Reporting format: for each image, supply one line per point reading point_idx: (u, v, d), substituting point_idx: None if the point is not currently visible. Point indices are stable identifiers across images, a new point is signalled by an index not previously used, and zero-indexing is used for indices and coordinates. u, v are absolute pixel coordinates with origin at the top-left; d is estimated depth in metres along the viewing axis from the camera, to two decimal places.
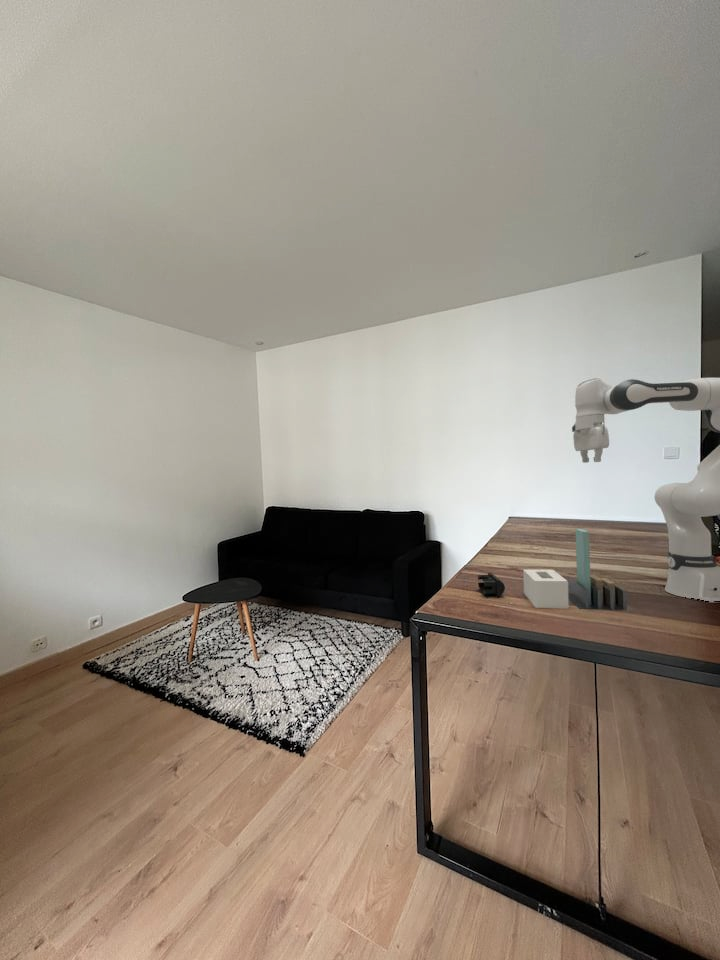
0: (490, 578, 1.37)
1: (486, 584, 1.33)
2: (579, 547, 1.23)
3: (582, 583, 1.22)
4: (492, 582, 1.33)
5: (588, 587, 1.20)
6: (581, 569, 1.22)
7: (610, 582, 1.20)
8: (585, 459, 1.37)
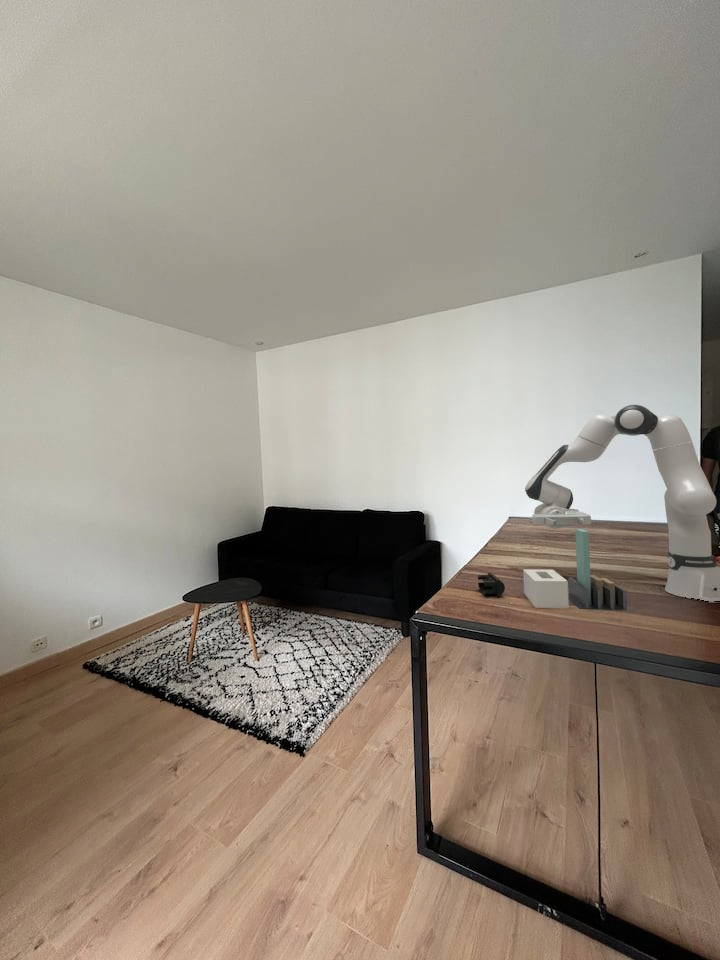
0: (490, 578, 1.37)
1: (486, 584, 1.33)
2: (579, 547, 1.23)
3: (582, 583, 1.22)
4: (492, 582, 1.33)
5: (588, 587, 1.20)
6: (581, 569, 1.22)
7: (610, 582, 1.20)
8: (578, 522, 1.35)
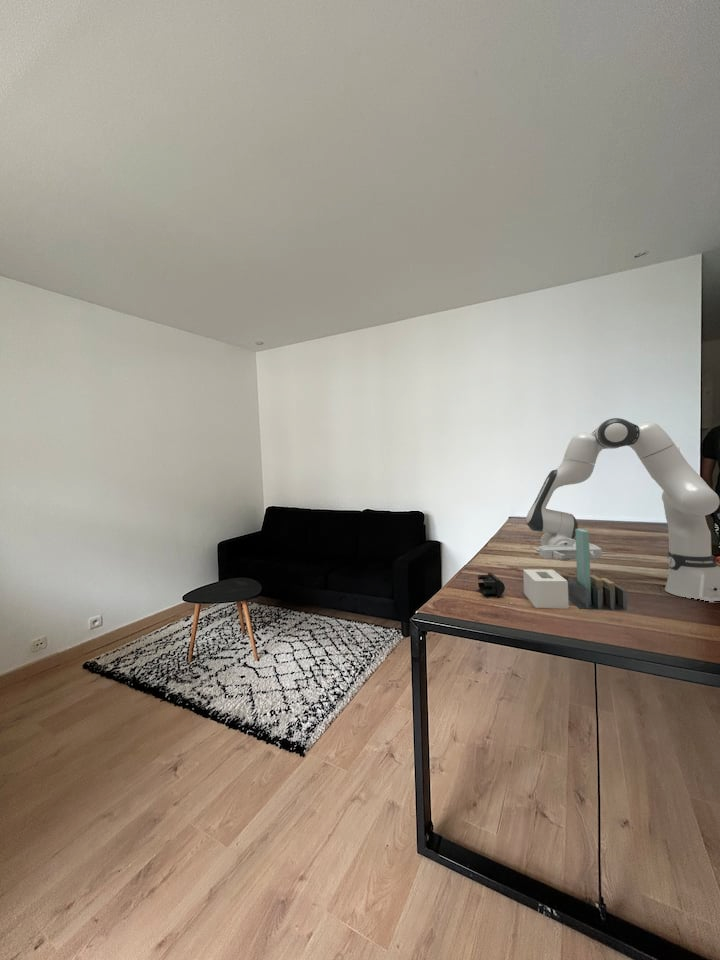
0: (490, 578, 1.37)
1: (486, 584, 1.33)
2: (579, 547, 1.23)
3: (582, 583, 1.22)
4: (492, 582, 1.33)
5: (588, 587, 1.20)
6: (581, 569, 1.22)
7: (610, 582, 1.20)
8: None
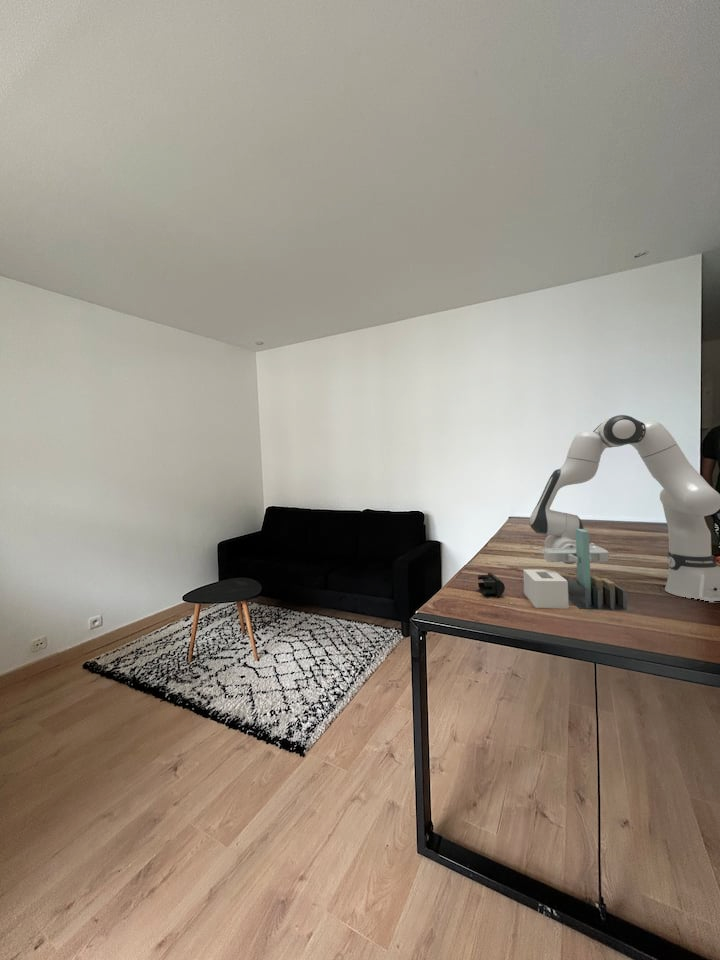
0: (490, 578, 1.37)
1: (486, 584, 1.33)
2: (579, 547, 1.23)
3: (582, 583, 1.22)
4: (492, 582, 1.33)
5: (588, 587, 1.20)
6: (581, 568, 1.22)
7: (610, 582, 1.20)
8: None
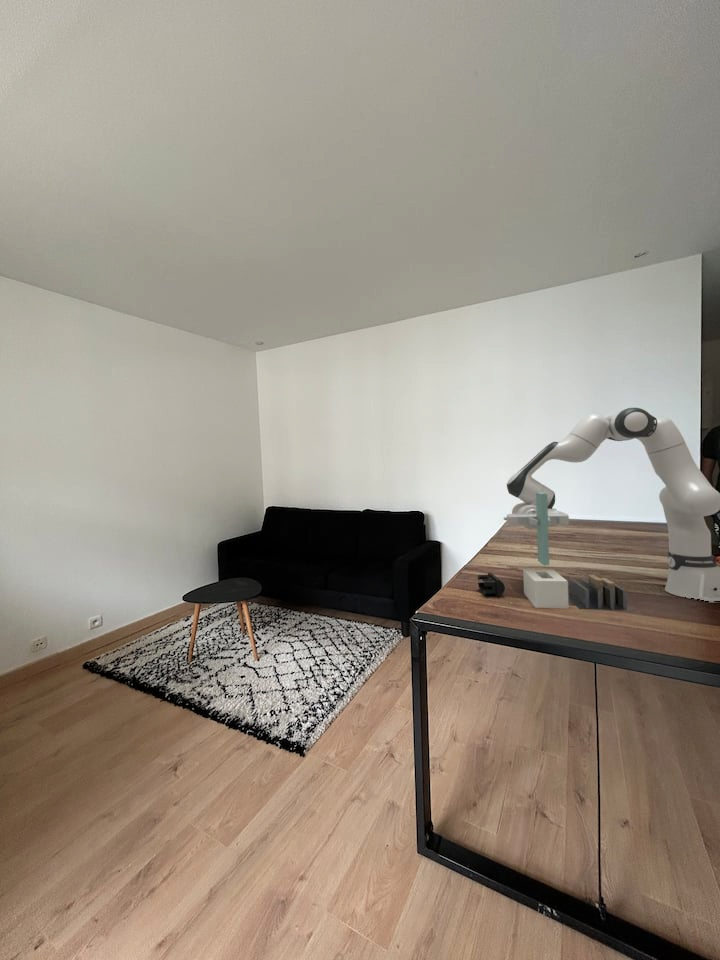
0: (490, 578, 1.37)
1: (486, 584, 1.33)
2: (539, 509, 1.25)
3: (541, 545, 1.24)
4: (492, 582, 1.33)
5: (546, 548, 1.22)
6: (540, 531, 1.24)
7: (610, 582, 1.20)
8: None
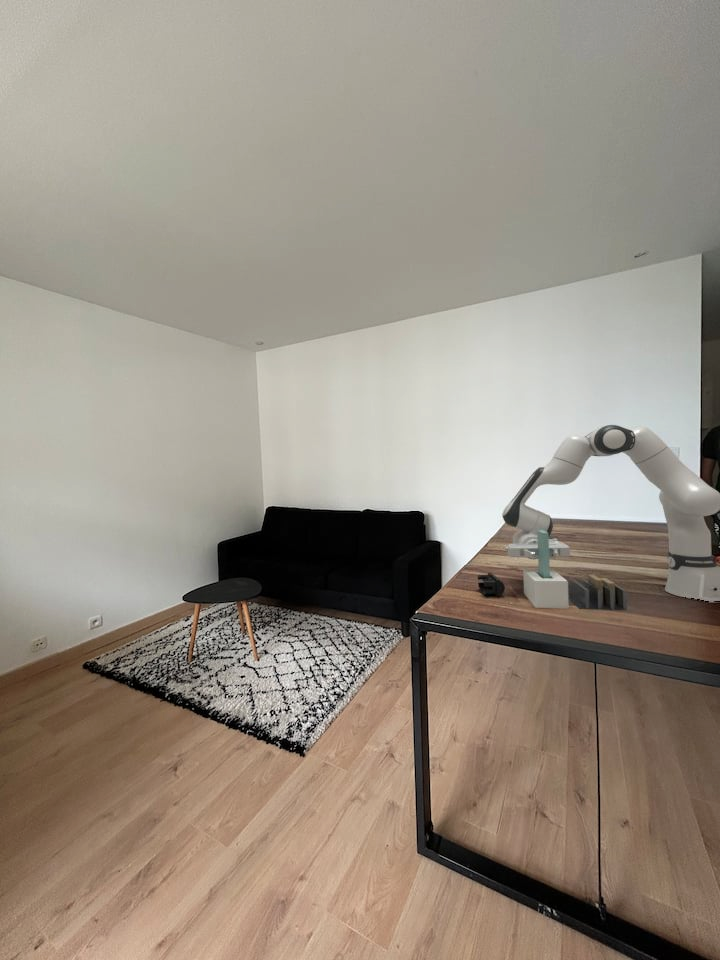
0: (490, 578, 1.37)
1: (486, 584, 1.33)
2: (540, 547, 1.25)
3: None
4: (492, 582, 1.33)
5: None
6: (542, 569, 1.24)
7: (610, 582, 1.20)
8: (552, 555, 1.25)
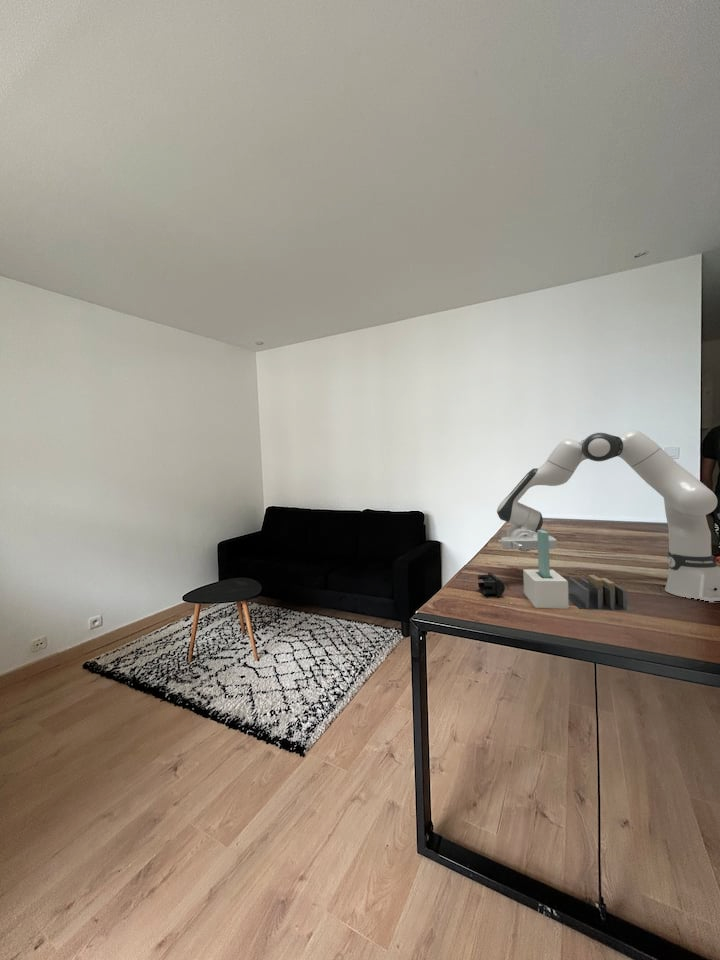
0: (490, 578, 1.37)
1: (486, 584, 1.33)
2: (540, 547, 1.25)
3: None
4: (492, 582, 1.33)
5: None
6: (542, 569, 1.24)
7: (610, 582, 1.20)
8: None
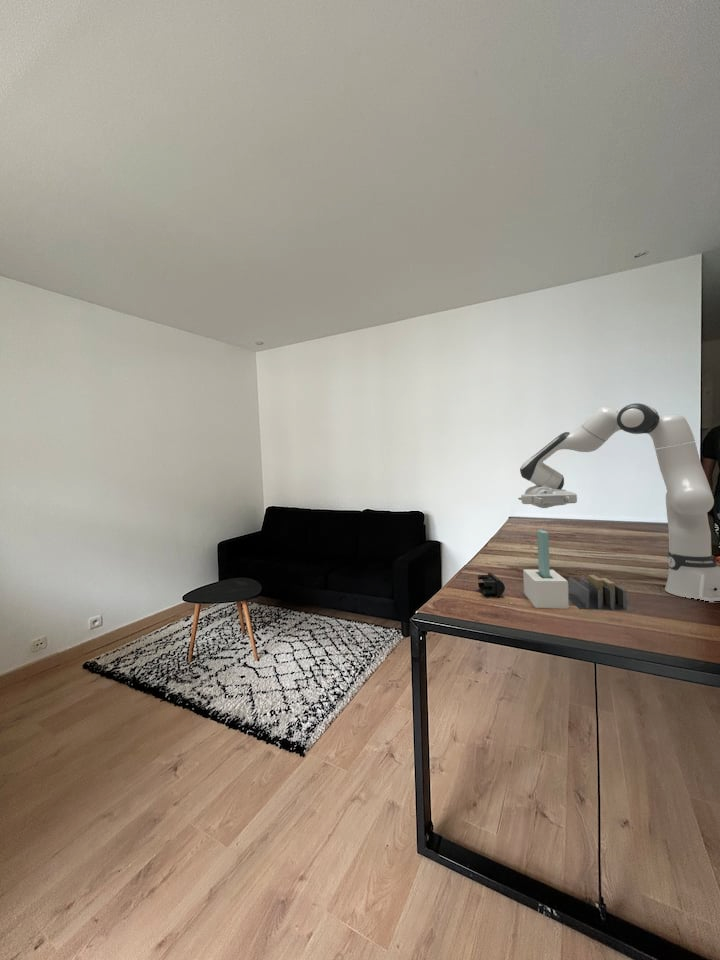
0: (490, 578, 1.37)
1: (486, 584, 1.33)
2: (540, 547, 1.25)
3: None
4: (492, 582, 1.33)
5: None
6: (542, 569, 1.24)
7: (610, 582, 1.20)
8: (564, 500, 1.41)
